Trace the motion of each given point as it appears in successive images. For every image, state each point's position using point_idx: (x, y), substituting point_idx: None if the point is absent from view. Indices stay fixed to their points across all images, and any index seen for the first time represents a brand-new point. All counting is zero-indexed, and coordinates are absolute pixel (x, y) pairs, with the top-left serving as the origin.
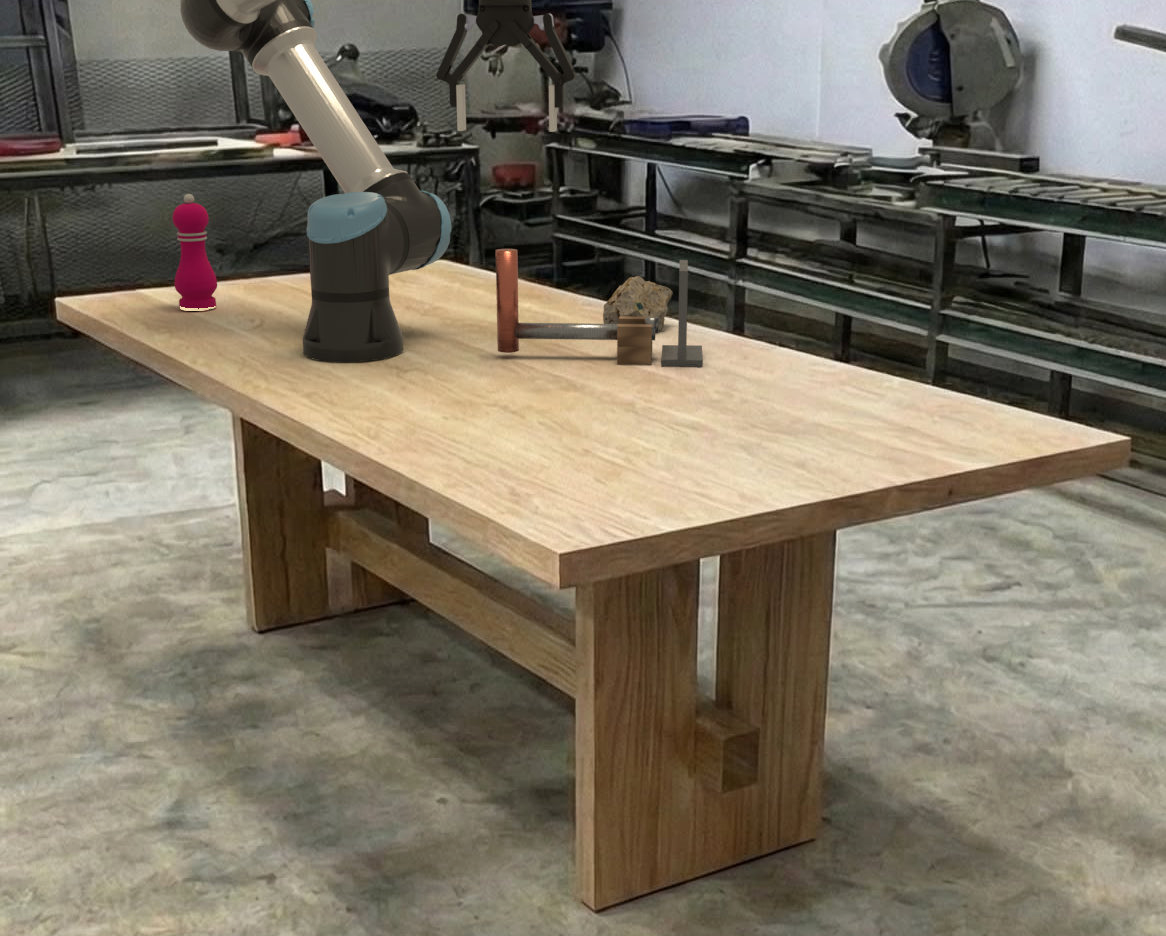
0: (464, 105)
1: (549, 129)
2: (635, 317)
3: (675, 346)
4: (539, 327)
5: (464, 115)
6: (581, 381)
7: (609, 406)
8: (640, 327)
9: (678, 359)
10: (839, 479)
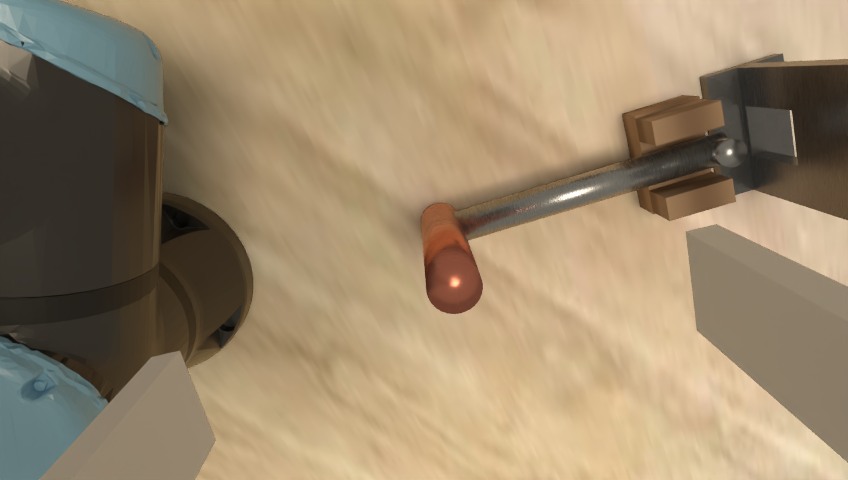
0: (122, 469)
1: (704, 334)
2: (687, 122)
3: (733, 81)
4: (507, 227)
5: (158, 434)
6: (613, 331)
7: (687, 440)
8: (713, 207)
9: (754, 189)
10: None
